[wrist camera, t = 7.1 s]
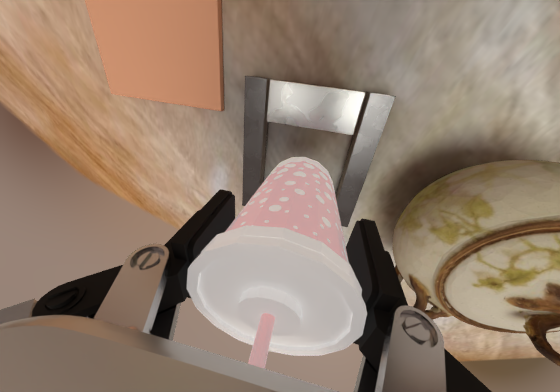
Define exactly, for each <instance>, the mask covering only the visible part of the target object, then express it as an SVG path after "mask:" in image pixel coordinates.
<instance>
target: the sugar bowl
mask: <svg viewBox="0 0 560 392" xmlns="http://www.w3.org/2000/svg"><path fill="white" fill-rule="evenodd" d="M392 243H393V255H394V259H395V263H396V266H395V270H396V273H397V276H398V279H399V281H400V283H401V281H402V279H403V278H404V280H405V281H406V283H407V284H408V286H409V287H410V288H411V289H412V290H413V291H414V292H415V293H416V296H417V299H416V303H415V305H414V306H413V307H414V308H417V309H419V310H421V311H422V312H424V313H425V314H426V315H428V316H429V317H430V318H431V319H432V320H433V319H436V318H439V317H449V316H454V317H456V318H457V319H459V320H461V321H463V322H466V323H468V324H471V325H474V326H477V327H480V328H484V329H488V330H494V331H500V332H510V333H526V334H527V335H528V336H529V338H530V339H531V341H532V343H533V344H534V346H535V348H536V349H537V350H538V351H539V352H540V353H541V354H542V355H544V356H545V357H546V358H548V359H549V360H551V361H552V362H554V363H555V364H557V365H559V366H560V354H559V353H557V352H556V351H554V350H553V348H552V347H551V345H550V344H549V343H548V341H547V339H546V333H548V332H557V331H560V163H556V162H549V161H538V160H508V161H497V162H491V163H485V164H480V165H475V166H471V167H467V168H464V169H461V170H458V171H455V172H453V173H450V174H448V175H446V176H443V177H442V178H440V179H438V180H436V181H434V182H433V183H431V184H430V185H428V186H427V187H426V188H424V189H423V190H422V191H421V192H419V193H418V194H417V195H416V196H415V197H414V198H413V199H412V201H411V202H410V203H409V204H408V205H407V206H406V208H405V209H404V211H403V212H402V214H401V216H400V218H399V219H398V222H397V224H396V226H395V230H394V234H393V241H392ZM427 303H430V304H431V305H433V307H432V308H431V310H425V309H426V306H427Z"/></svg>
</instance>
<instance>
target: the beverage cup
mask: <svg viewBox="0 0 560 392" xmlns="http://www.w3.org/2000/svg"><path fill="white" fill-rule="evenodd" d="M186 289H187V290H188V292H189V294H190V296H191V298H192V300H193V302H194V304H195V306H196V308H197V309H198V310H199V311H200V312H201V313H202V314H203V315H204V316H205V317H206V318H207V319H208V320H209V321H210V322H211V323H212V324H213V325H215V326H216V327H218V328H220V329H221V330H223V331H224V332H226V333H228V334H229V335H231V336H232V337H234V338H236V339H237V340H240V341H242V342H245V343H247V344H250V345H253V347H252V351H251V355H250V359H249V362H248V364H251V365H254V366H257V367H260V368H264V369H265V365H266V360H267V355H268V351H272V352H277V353H282V354H287V355H292V356H293V355H295V356H298V355H300V356H301V355H302V356H304V355H305V356H313V355H314V356H318V355H319V356H321V355H324V354H328V353H332V352H336V351H339V350H343V349H346V348H347V347H348V346H349V345H351V344H352V343H353V342H354V341H356V340H357V339H358V338H359V337H361V336H362V335H363V330H364V326H365V321H366V317H367V310H366V305H365V303H364V300H363V298H362V288H361V286H360V284H359V282H358V280H357V278H356V276H355V274H354V272H353V269H352V267H351V265H350V264H349V261H348V256H347V251H346V246H345V241H344V236H343V231H342V226H341V221H340V216H339V211H338V206H337V201H336V196H335V191H334V186H333V182H332V179H331V177H330V175H329V172H328V170H327V169H326V168H324V167H323V166H322V165H321V164H320V163H319V162H318V161H315V160H312V159H310V158H307V157H291V158H289V159H286V160H284V161H282V162H280V163H279V164H278V165H277V166H276V167H275V168H274V169H273V170H272V172H271V173H270V174H269V176H268V177H267V178H266V179H265V181H264V182H263V183H262V185H261V186H260V187H259V189H258V190H257V191H256V192H255V194H254V195H253V196H252V198H251V199H250V200H249V201H248V203H247V204H246V205H245V207H244V208H243V209H242V210H241V212H240V213H239V214H238V216H237V217H236V218H235V220H234V221H233V222H232V223H231V225H230V226H229V227H228V229H227V230H226V231H225V232H224V233H220V234H217V235H216V236H215V237H214V238H213V239H212V241H211V242H210V243H209V244H208V245H207V246H206V247H205V248H204V249H203V250H202V251H201V254H200V255H199V256H198V257H197V258H196V259H195V260H194V261H193V262H192V264H191V265H190V266H189V268H188V274H187V288H186Z"/></svg>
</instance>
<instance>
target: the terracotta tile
mask: <svg viewBox="0 0 560 392" xmlns="http://www.w3.org/2000/svg"><path fill="white" fill-rule="evenodd" d="M85 2H86V6H87V9H88V13H89V17H90V20H91V24H92V27H93V31H94V34H95V38H96V41H97V45H98V48H99V52H100V55H101V59H102V62H103V66H104V69H105V73H106V76H107V80H108V84H109V87H110V91H111V94H116V95H122V96H128V97H135V98H141V99H147V100H154V101H160V102H167V103H173V104H179V105H186V106H192V107H198V108H205V109H211V110H218V111H223V110H224V82H223V43H222V5H221V0H85Z"/></svg>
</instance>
